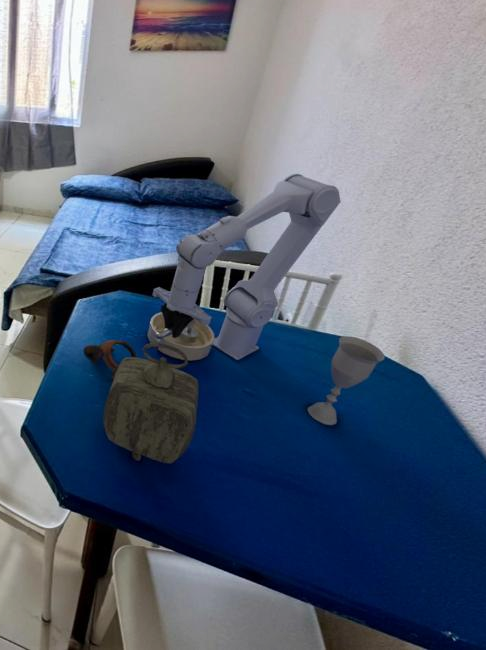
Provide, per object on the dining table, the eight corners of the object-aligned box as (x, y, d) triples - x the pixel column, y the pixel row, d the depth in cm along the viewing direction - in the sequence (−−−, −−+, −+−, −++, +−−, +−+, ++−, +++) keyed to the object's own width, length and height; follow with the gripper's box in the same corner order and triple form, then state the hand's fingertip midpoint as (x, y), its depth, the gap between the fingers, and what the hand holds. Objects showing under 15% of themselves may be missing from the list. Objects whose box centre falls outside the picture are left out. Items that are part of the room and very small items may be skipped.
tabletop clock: (180, 447, 77) (218, 344, 65) (175, 487, 70) (216, 380, 58) (105, 418, 83) (127, 319, 71) (93, 453, 76) (115, 348, 64)
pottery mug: (120, 352, 102) (138, 339, 95) (123, 389, 96) (142, 378, 90) (76, 342, 100) (91, 328, 93) (76, 379, 95) (92, 367, 88)
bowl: (172, 319, 115) (176, 305, 112) (222, 350, 103) (227, 336, 101) (134, 334, 108) (138, 321, 106) (182, 370, 96) (187, 355, 94)
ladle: (185, 330, 106) (190, 312, 104) (199, 339, 103) (206, 321, 100) (145, 348, 100) (150, 329, 97) (159, 358, 96) (165, 339, 94)
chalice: (349, 432, 82) (393, 364, 73) (312, 426, 83) (351, 358, 74) (331, 404, 88) (370, 339, 79) (296, 399, 89) (331, 333, 80)
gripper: (148, 276, 96) (137, 322, 102) (202, 306, 85) (186, 356, 92) (168, 269, 99) (157, 315, 106) (223, 298, 88) (206, 346, 95)
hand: (172, 333), depth 99 cm, fingers closed on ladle
